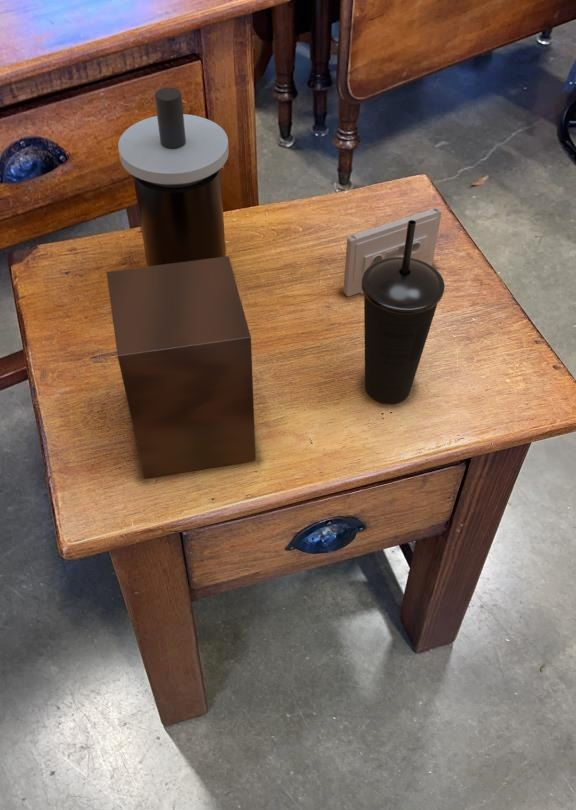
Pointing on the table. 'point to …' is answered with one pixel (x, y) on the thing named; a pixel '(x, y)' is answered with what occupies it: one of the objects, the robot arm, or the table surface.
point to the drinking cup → (397, 321)
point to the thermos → (181, 220)
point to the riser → (185, 364)
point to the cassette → (389, 246)
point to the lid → (173, 144)
